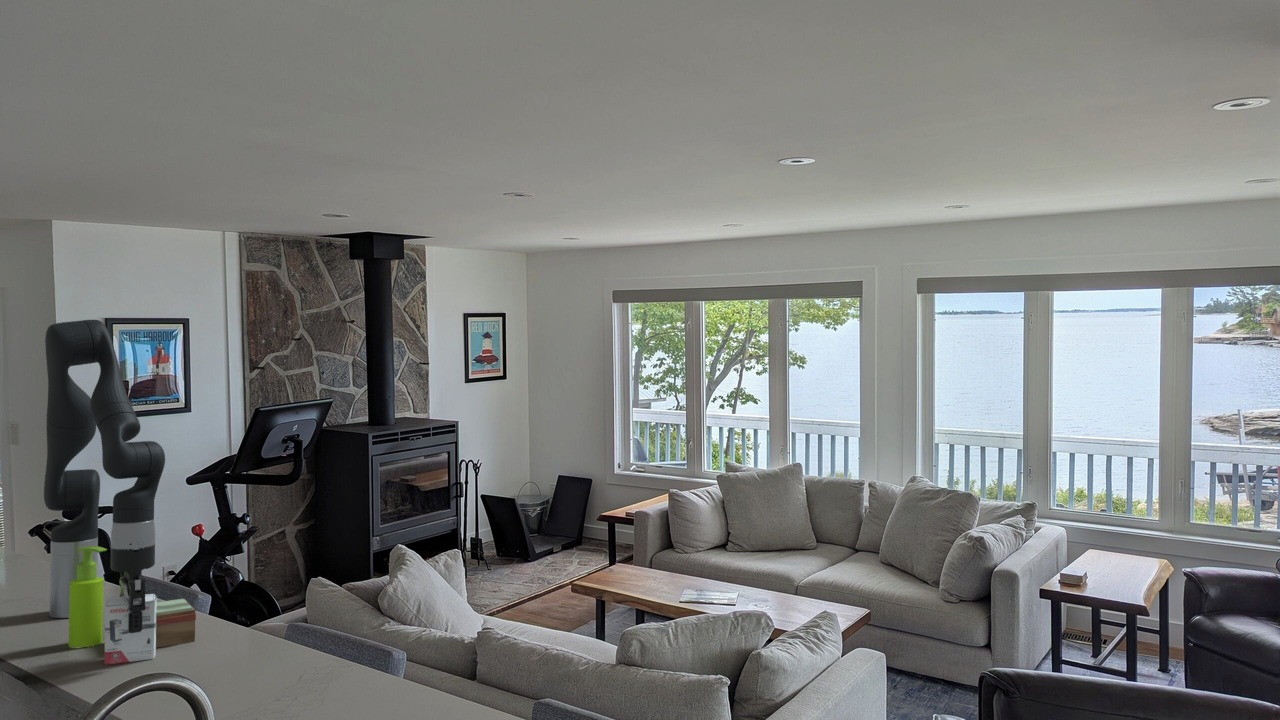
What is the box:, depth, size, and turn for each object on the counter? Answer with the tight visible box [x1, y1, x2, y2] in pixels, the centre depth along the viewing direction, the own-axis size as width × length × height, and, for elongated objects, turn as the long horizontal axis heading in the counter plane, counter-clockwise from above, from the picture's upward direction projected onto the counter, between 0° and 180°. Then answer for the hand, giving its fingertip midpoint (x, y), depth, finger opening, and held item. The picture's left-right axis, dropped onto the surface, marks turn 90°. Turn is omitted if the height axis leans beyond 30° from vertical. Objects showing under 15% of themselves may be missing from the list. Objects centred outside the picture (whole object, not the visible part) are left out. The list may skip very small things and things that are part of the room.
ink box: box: [103, 593, 158, 666], centre depth 168 cm, size 9×5×12 cm, turn 118°
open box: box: [156, 598, 197, 649], centre depth 180 cm, size 11×12×7 cm
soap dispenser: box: [67, 545, 108, 648], centre depth 177 cm, size 6×7×20 cm
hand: (131, 627), depth 168 cm, fingers open, 8 cm apart
